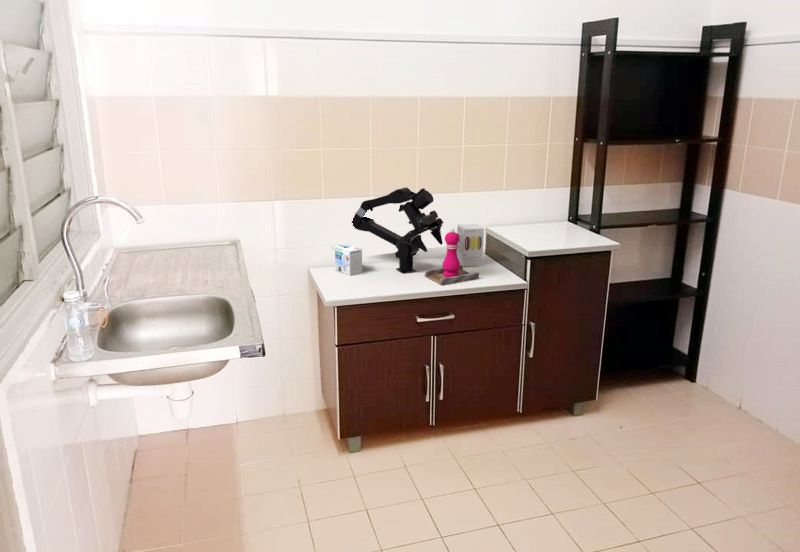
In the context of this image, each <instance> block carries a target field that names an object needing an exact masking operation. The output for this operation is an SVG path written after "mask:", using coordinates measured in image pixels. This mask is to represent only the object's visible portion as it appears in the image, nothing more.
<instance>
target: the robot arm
mask: <svg viewBox="0 0 800 552" xmlns="http://www.w3.org/2000/svg"><path fill="white" fill-rule="evenodd" d="M433 202H434V196H433V195H432V193H431V192H429V191H428V190H426V188H424V187H423V188H420V190H418V192H414V191H412V190H411V189H410V188H409V187H407V186H406V187H405V186H404V187H402V188H398V189H394V190H393V191H391V192H390V193H388V194H386V195H383V196H380V197H375V198H373V199H366V200H364V201H362V202H361V204H360V206H359V208H358V209H357V211H356V212H355V213H354V215H353V217H354V218H353V217H352V218H353V221H352V220H351V224H352V223H353V225H352V227H353V226H354V227H355V228H354V227H353V228H354V229H355V230H357V231H362V232H369V233H370V234H373V235H374V236H376V237H378V238H380V239H383V240H384V241H385V242H388V243H389V244H391V245H393V246H394V247H396V250H397V251H396V252H395V253H394V254H395V257H396V259H398V264H399V265H398V267H396V268H395V269H396V270H397V271H398V272H400V273H401V274H409V273H414V272H416V271H417V270H416V269H415V268H414V256H417V253H418V252H419V250H420V249H421V251H423V252H425V253H427V252H428V249H427V247H426V244H425V243H424V241H423V240H422V234H423V233H425V232H427V231H430V234H431V235H432V236H433V238H434V239H435V240H436V241H437V242H438V244H440V245H443V238H442V233H441V232H442V231H441V228H442V227H443V224H444V221H443V219H442V218H439V216H438V215H439V214H438V213H437V211H436V210H431V211H430V212H429V214H426V213H425V212H422V211H421V210H424V209H425V208H426V207H429V205H430V204H432V203H433ZM402 203H404V204H402ZM388 204H393V205H394V204H395V205H397V204H400V205H399V209H398V212H399V213H401V212H404V213H405V215H406V217H407V218H408V220H409V221H408V224H409V225H412V227H413V229H412V230H409V231H408V232H407V233H405V235H403V236H402V235H399V234H397V233H396V232H394V231H392V230H390V229H389V228H388V229H387V228H386V227H385V226H382V225H381V224H378V223H377V222H376V221H375V219H374V218H373V219H370V218H367V217H363V216H364V215H365V213H366V212H367V210H369V209H370V210H371V211H373V212H374V208H377V207H381V206H385V205H388Z"/></svg>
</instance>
